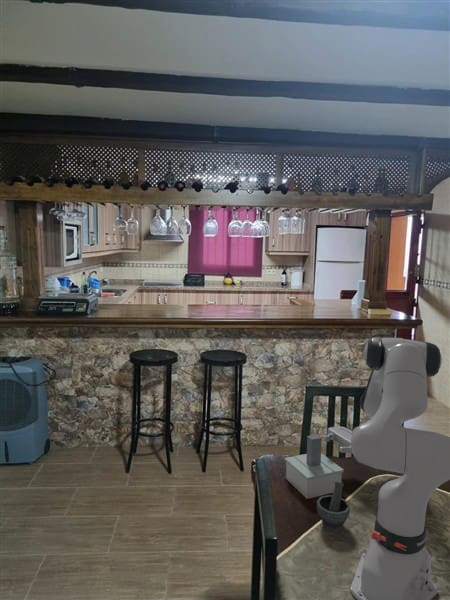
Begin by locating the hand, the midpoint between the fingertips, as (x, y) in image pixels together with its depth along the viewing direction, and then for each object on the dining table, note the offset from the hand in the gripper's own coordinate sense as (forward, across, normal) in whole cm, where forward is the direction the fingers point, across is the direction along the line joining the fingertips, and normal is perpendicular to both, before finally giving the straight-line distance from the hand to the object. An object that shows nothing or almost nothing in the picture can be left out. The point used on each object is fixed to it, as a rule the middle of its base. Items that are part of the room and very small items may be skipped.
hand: (332, 444), depth 153 cm
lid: (+8, 0, +8) cm, 11 cm away
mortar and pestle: (+15, +21, +14) cm, 30 cm away
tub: (+8, 0, +14) cm, 16 cm away
